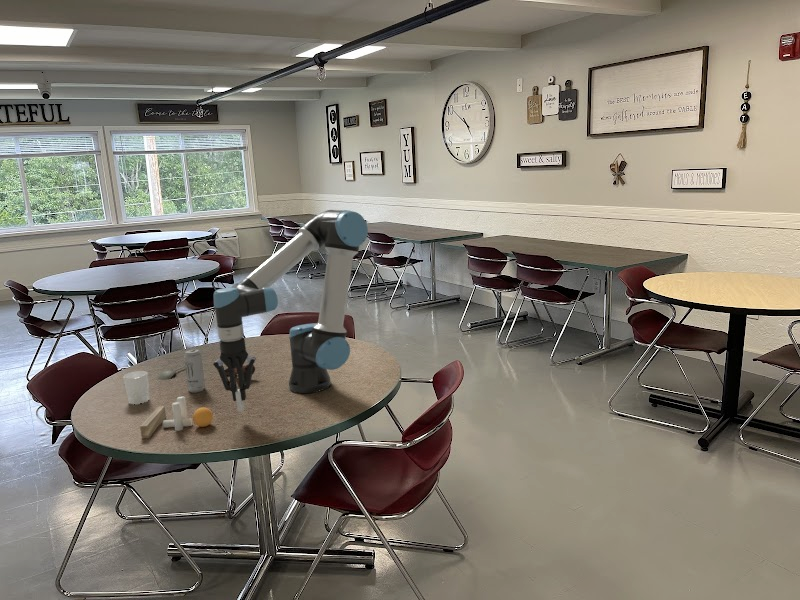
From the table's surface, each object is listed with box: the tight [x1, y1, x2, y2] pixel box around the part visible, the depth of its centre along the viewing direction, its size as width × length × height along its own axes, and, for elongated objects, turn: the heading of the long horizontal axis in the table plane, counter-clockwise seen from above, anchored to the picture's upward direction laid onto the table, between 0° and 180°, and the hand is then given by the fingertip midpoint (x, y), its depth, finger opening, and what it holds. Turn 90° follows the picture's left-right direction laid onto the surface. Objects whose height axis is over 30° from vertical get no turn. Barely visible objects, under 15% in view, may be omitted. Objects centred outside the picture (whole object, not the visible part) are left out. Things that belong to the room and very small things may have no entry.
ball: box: [192, 407, 214, 428], centre depth 189 cm, size 6×6×6 cm
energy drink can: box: [183, 348, 206, 393], centre depth 221 cm, size 6×6×15 cm
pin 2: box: [171, 401, 184, 432], centre depth 187 cm, size 2×2×8 cm
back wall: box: [139, 405, 167, 439], centre depth 190 cm, size 2×16×4 cm, turn 3°
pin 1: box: [176, 396, 189, 419], centre depth 192 cm, size 2×2×8 cm
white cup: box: [123, 370, 150, 405], centre depth 213 cm, size 8×8×10 cm
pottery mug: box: [224, 363, 256, 387], centre depth 231 cm, size 12×10×8 cm
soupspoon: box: [157, 365, 185, 381], centre depth 246 cm, size 22×3×7 cm
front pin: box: [162, 417, 193, 429], centre depth 190 cm, size 2×2×8 cm
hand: (241, 409), depth 191 cm, fingers closed
